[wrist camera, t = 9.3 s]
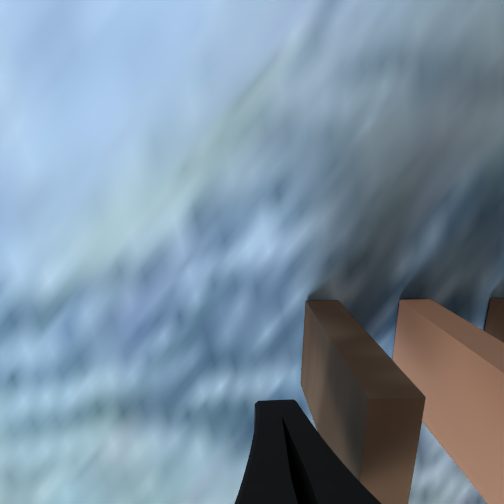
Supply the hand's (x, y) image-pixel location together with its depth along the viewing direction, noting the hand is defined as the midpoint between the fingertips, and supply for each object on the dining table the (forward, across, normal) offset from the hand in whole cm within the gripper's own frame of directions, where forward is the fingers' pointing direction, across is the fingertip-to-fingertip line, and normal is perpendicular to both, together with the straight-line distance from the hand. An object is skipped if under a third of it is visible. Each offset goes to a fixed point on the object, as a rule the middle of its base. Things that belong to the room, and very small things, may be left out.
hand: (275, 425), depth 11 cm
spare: (+5, -8, 0) cm, 9 cm away
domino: (+5, -3, 0) cm, 6 cm away
